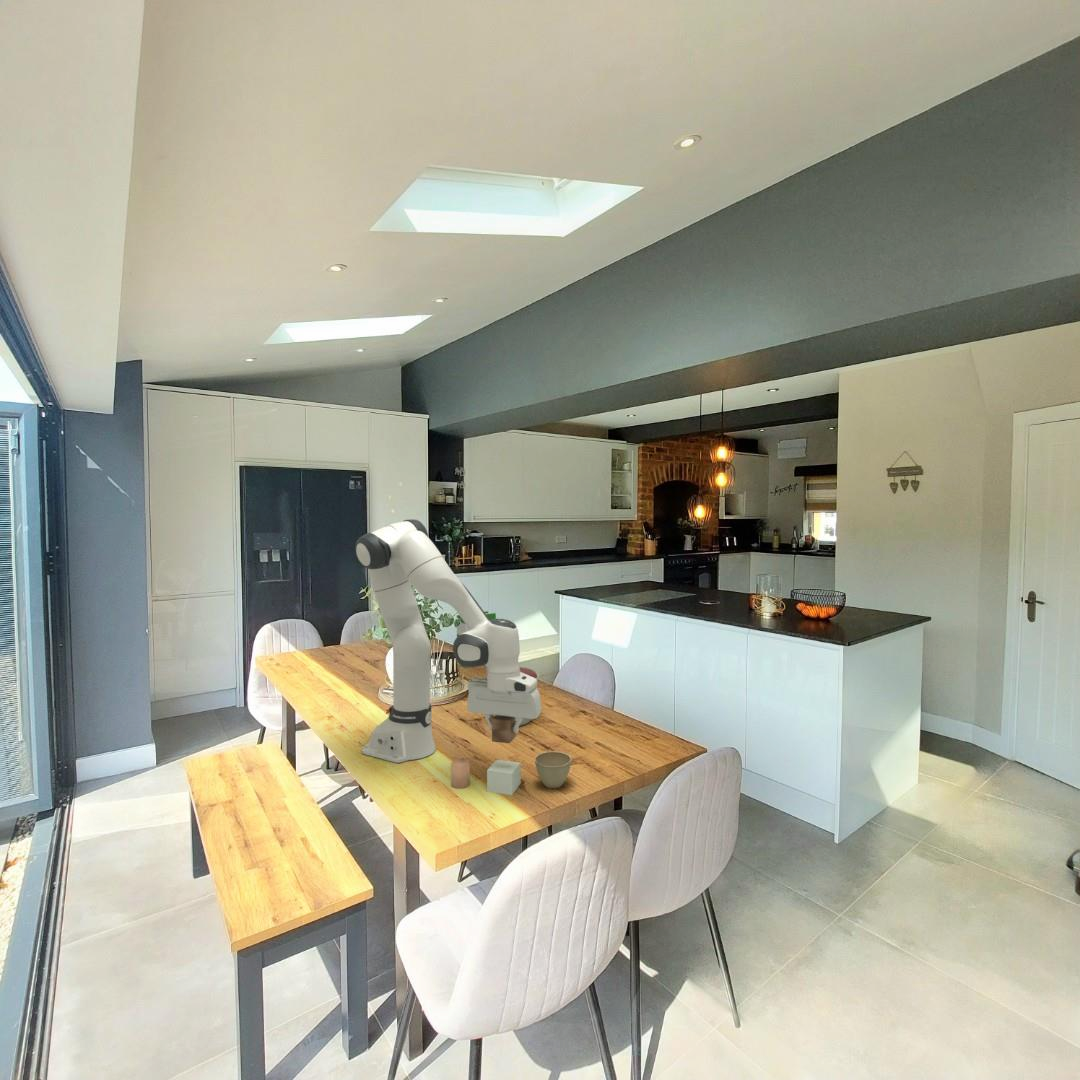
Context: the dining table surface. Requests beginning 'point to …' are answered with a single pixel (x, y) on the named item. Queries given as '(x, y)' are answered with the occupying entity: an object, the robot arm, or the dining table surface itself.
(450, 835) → the dining table surface
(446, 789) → the dining table surface
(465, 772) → the terracotta cylinder
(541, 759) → the flower pot
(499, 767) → the grey block
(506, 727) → the walnut block
